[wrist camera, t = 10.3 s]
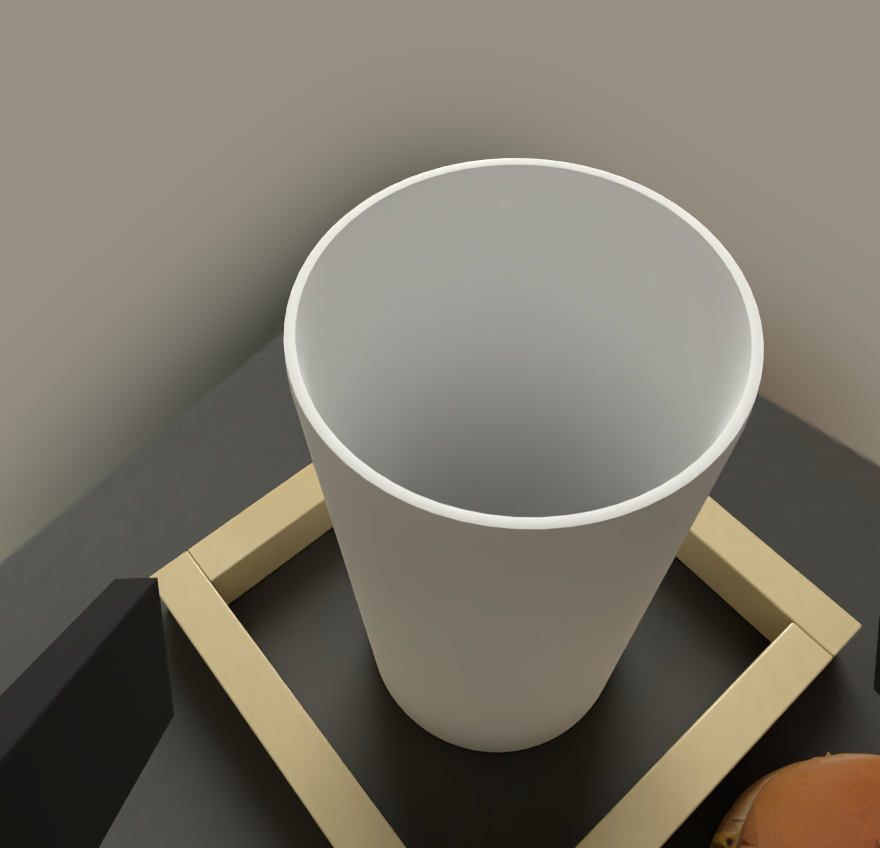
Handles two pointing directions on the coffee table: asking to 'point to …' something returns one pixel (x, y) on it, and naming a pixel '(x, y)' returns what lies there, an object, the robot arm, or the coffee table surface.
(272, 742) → the square frame
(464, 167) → the cup
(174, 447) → the coffee table surface
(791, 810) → the burger
